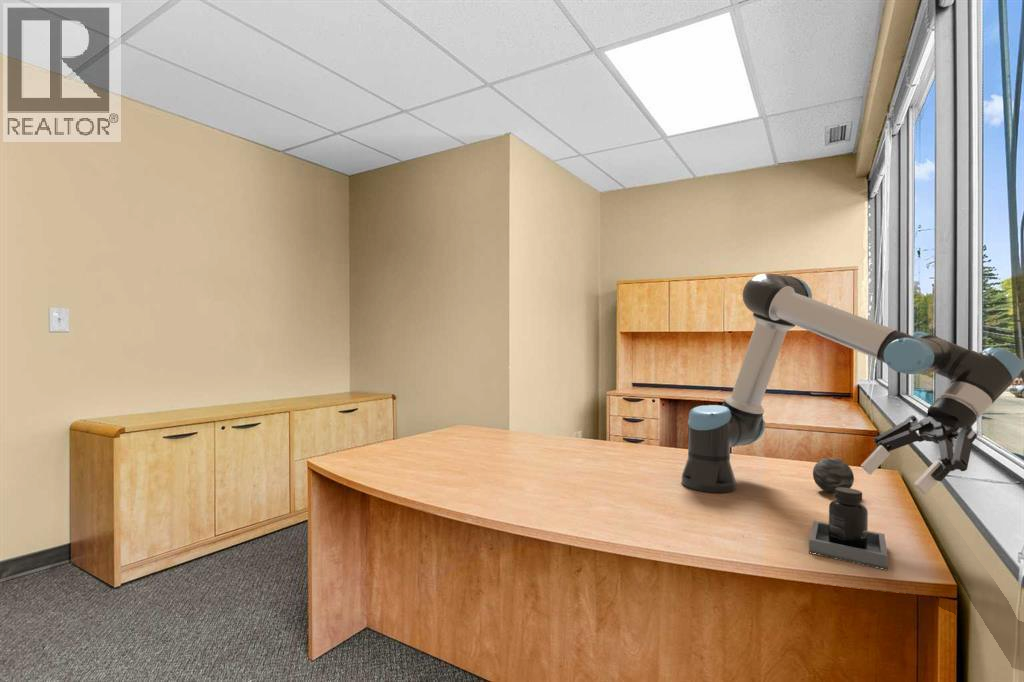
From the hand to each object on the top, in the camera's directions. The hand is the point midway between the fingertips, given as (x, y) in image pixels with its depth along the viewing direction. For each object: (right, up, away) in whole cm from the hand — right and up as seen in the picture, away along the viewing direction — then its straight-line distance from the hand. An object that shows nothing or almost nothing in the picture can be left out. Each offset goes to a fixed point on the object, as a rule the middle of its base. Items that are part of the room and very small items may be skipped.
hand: (890, 479), depth 106 cm
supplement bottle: (-10, -14, -1) cm, 17 cm away
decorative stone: (+12, -15, +38) cm, 43 cm away
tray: (-10, -15, -1) cm, 18 cm away
